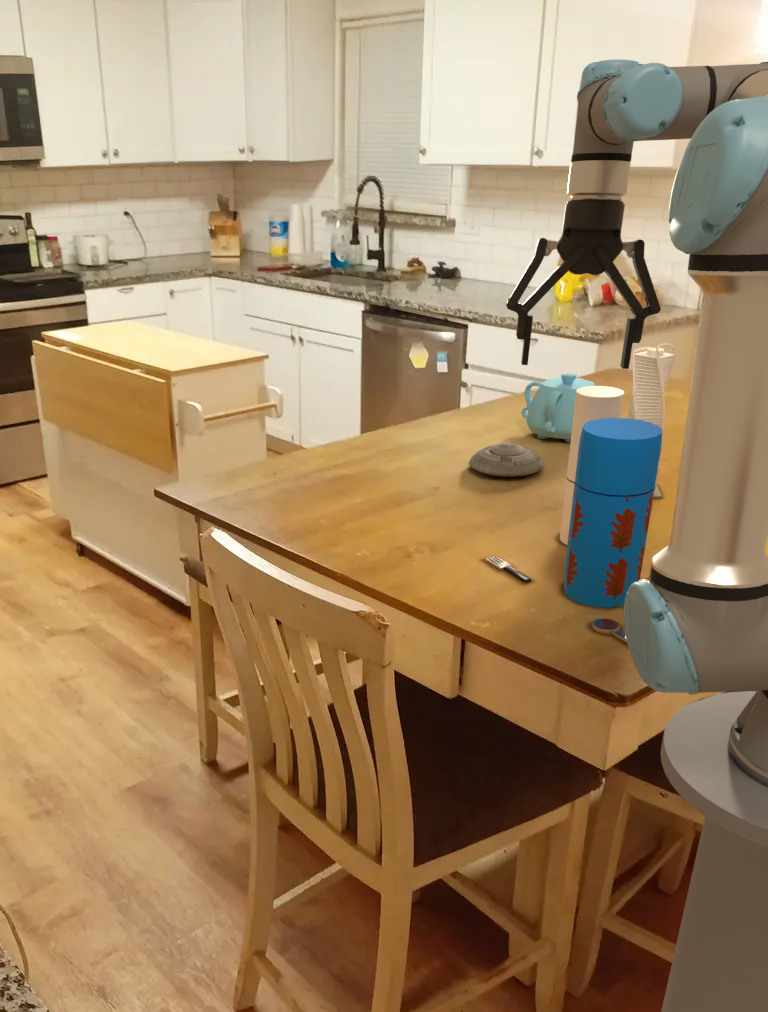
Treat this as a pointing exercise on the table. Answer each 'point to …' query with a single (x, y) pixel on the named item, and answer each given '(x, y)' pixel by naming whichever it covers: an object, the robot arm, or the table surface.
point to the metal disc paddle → (609, 628)
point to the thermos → (610, 509)
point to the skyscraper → (650, 388)
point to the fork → (507, 568)
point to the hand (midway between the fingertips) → (573, 366)
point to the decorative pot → (553, 406)
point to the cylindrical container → (587, 408)
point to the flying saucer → (506, 460)
